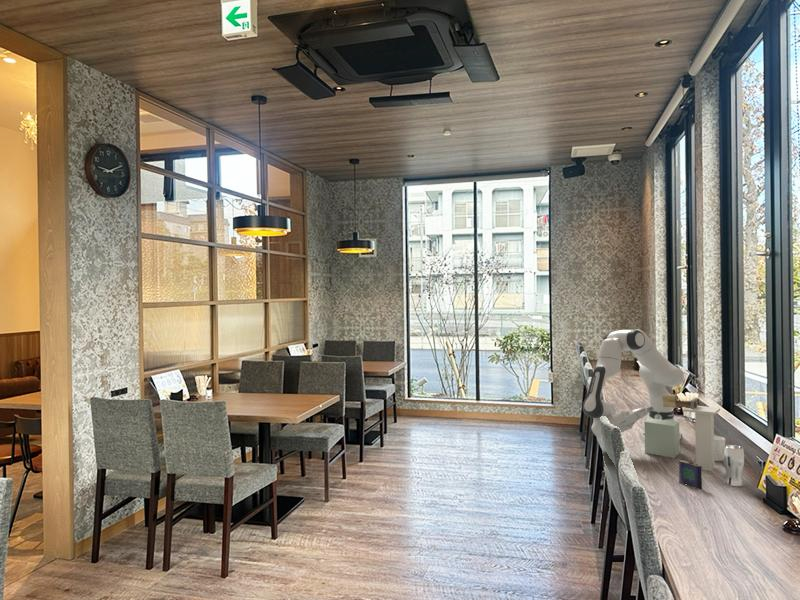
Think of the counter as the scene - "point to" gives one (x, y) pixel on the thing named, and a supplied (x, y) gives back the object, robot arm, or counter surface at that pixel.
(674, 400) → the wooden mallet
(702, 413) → the tall stand
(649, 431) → the sage pedestal
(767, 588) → the counter surface
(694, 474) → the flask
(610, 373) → the robot arm
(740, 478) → the beer glass
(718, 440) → the white cup
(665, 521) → the counter surface
